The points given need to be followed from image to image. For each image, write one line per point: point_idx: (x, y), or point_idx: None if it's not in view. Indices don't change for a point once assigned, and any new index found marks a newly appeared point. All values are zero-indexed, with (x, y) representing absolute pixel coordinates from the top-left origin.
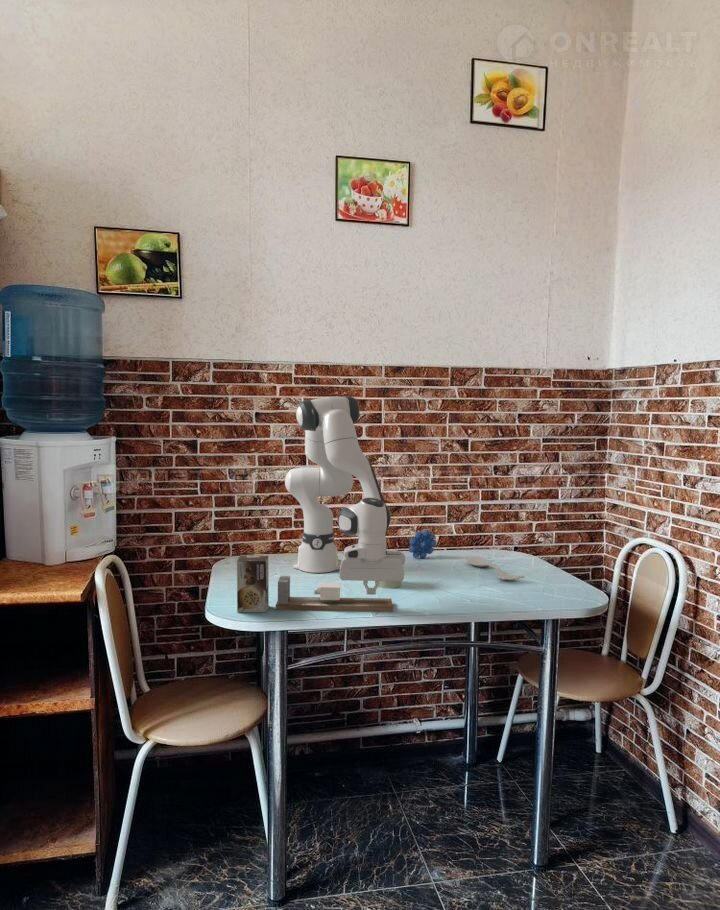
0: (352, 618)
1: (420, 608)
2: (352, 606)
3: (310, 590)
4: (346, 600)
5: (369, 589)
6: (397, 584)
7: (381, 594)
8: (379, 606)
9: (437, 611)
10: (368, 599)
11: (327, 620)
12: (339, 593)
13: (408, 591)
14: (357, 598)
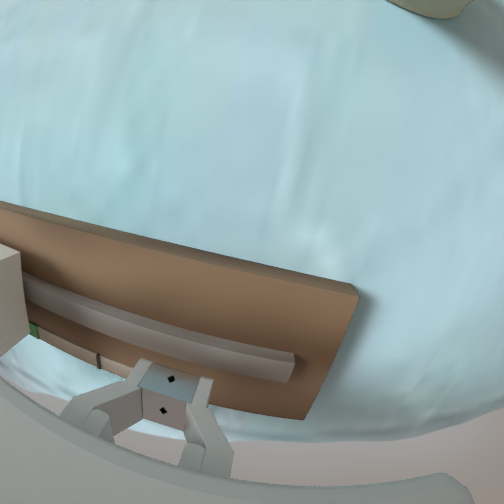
0: None
1: (442, 369)
2: (95, 365)
3: (4, 50)
4: (57, 312)
5: (149, 419)
6: (456, 10)
7: (338, 87)
8: (232, 406)
9: (467, 394)
10: (172, 342)
11: (48, 393)
12: (7, 348)
13: (492, 98)
14: (115, 253)
